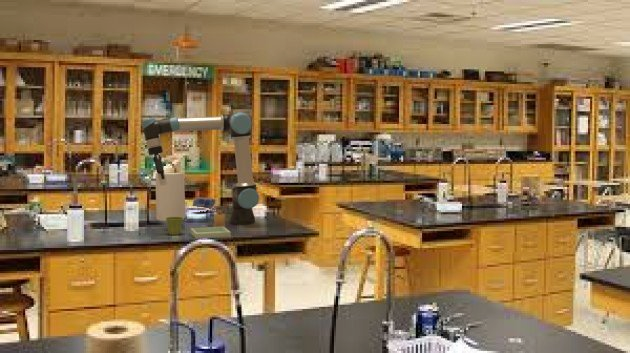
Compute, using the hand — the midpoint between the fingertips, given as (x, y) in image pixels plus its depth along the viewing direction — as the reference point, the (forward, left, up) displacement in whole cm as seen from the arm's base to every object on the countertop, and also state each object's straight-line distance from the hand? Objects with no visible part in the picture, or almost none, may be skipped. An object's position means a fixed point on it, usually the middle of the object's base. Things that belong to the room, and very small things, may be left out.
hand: (163, 185), depth 375 cm
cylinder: (-9, -43, -25) cm, 51 cm away
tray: (-21, +22, -25) cm, 40 cm away
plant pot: (-4, +11, -25) cm, 28 cm away
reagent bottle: (-29, +7, -25) cm, 39 cm away
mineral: (-33, -61, -26) cm, 74 cm away
